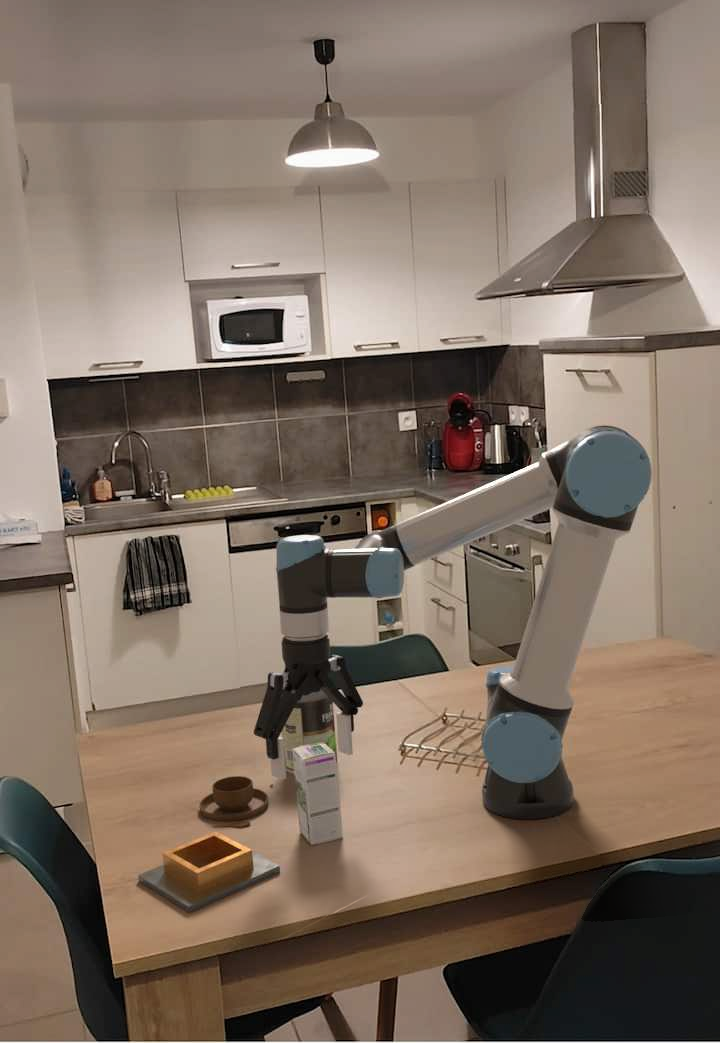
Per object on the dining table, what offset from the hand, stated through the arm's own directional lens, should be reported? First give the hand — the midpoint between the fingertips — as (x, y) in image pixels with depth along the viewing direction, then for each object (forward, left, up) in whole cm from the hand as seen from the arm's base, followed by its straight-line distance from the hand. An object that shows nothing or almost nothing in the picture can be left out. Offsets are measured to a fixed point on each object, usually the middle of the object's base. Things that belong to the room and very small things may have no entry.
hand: (313, 764), depth 169 cm
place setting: (+18, -1, -13) cm, 22 cm away
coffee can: (+25, -18, -12) cm, 33 cm away
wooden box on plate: (+2, +20, -12) cm, 23 cm away
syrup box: (0, 0, -12) cm, 12 cm away
